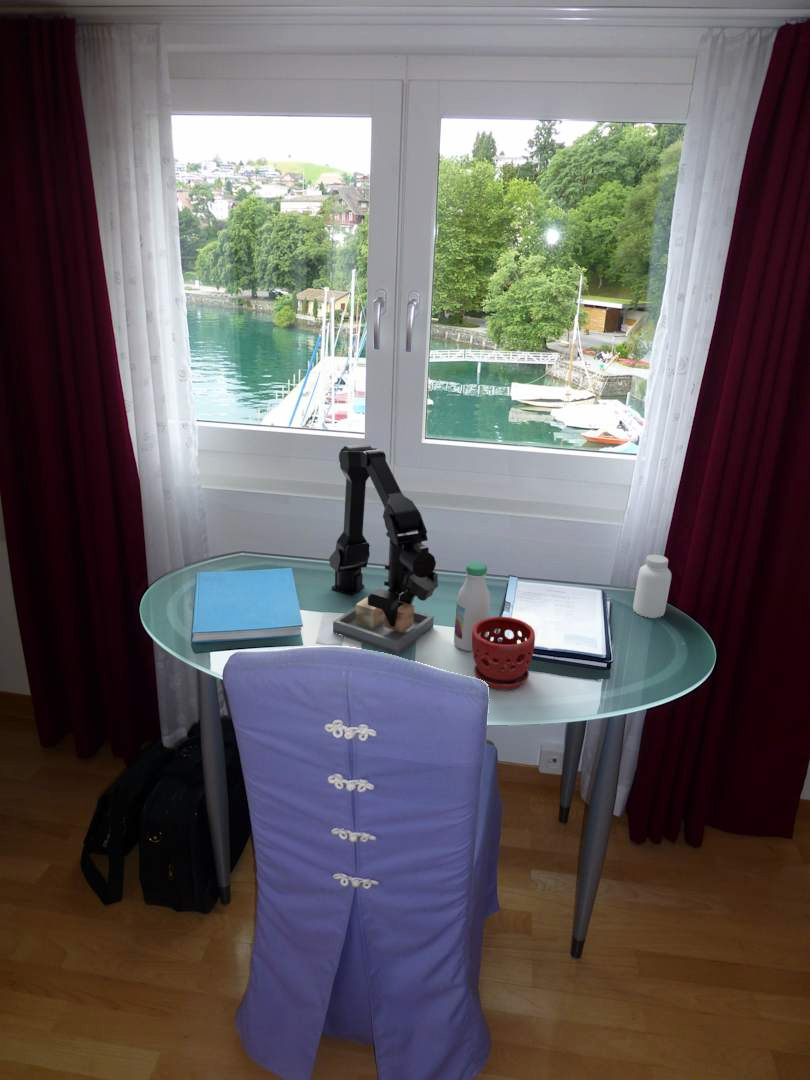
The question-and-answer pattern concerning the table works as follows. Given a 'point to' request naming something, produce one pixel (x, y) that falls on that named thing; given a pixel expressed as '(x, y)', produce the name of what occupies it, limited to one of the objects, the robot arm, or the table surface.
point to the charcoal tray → (383, 632)
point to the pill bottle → (652, 587)
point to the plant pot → (502, 652)
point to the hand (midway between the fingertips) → (398, 621)
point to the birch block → (368, 614)
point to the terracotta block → (402, 618)
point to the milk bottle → (471, 605)
